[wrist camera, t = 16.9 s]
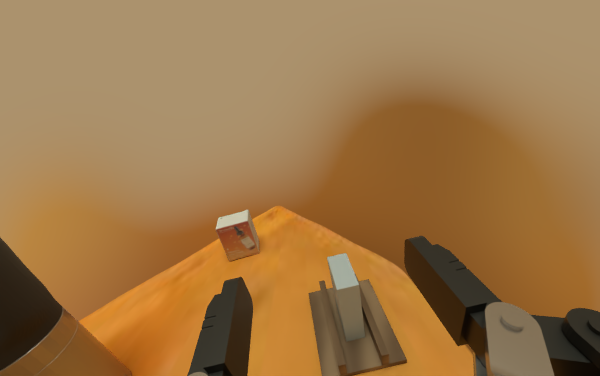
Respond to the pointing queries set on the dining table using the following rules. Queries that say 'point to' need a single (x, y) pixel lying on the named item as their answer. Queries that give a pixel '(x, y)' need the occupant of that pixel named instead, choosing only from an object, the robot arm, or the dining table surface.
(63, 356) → the robot arm
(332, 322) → the rack
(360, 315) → the grey rectangular block
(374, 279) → the dining table surface
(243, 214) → the small box
